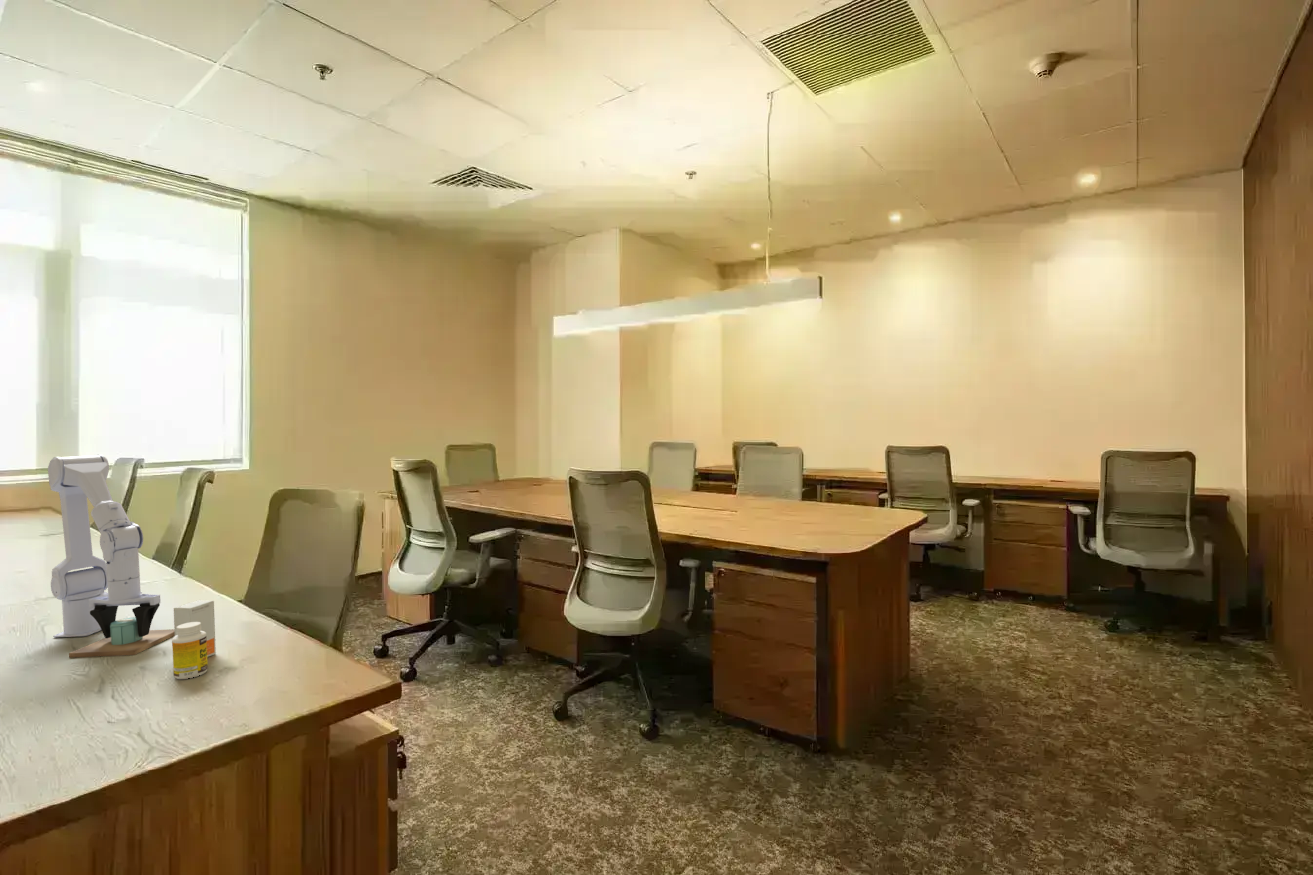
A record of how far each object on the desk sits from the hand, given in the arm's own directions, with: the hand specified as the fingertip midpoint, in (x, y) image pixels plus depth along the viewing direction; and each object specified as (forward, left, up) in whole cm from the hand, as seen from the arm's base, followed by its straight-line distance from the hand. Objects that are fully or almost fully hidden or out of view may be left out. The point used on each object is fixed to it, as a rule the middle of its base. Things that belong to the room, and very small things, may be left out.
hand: (127, 636), depth 144 cm
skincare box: (+11, +23, -2) cm, 26 cm away
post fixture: (0, 0, -2) cm, 2 cm away
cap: (0, 0, -1) cm, 1 cm away
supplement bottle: (+20, +28, -2) cm, 34 cm away
